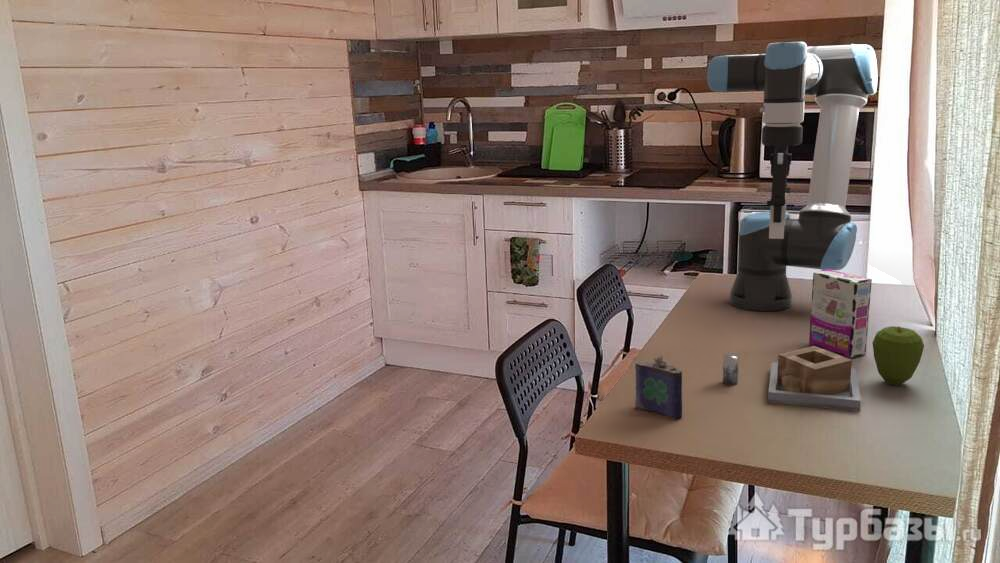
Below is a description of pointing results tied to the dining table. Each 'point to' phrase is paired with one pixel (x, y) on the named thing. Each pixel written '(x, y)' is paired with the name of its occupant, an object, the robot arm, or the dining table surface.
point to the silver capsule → (730, 369)
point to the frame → (814, 371)
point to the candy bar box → (840, 312)
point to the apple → (897, 353)
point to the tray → (815, 395)
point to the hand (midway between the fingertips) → (777, 231)
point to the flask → (659, 388)
